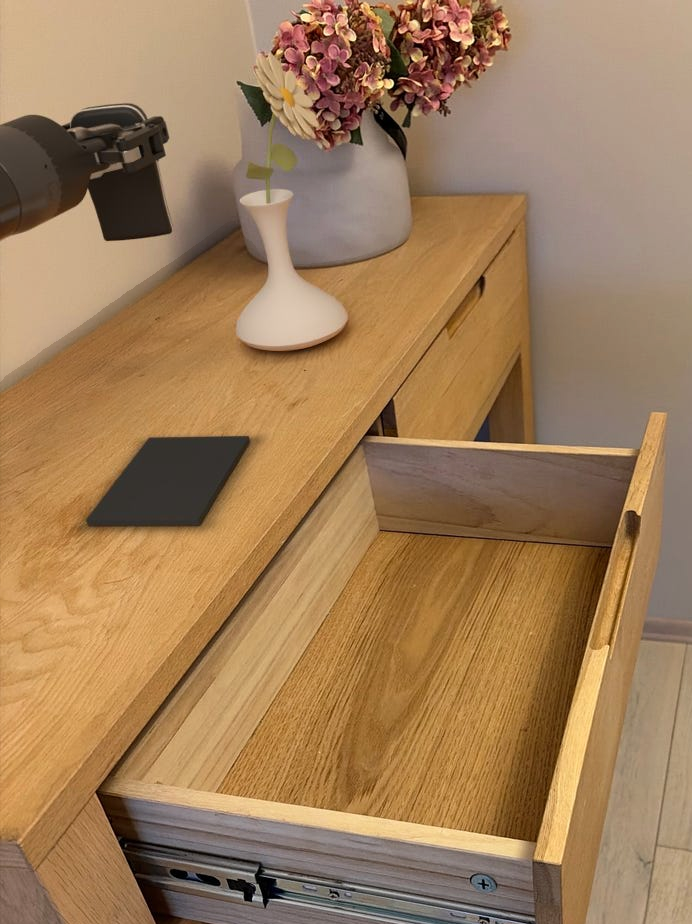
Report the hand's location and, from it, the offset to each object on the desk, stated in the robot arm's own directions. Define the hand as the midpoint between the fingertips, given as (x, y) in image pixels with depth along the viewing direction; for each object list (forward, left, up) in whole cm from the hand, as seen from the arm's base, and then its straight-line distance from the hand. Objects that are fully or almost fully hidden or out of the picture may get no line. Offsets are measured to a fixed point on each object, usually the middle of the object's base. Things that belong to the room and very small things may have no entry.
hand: (126, 128), depth 92 cm
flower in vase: (+14, -2, -20) cm, 24 cm away
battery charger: (0, -2, -9) cm, 9 cm away
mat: (+11, -31, -20) cm, 39 cm away
